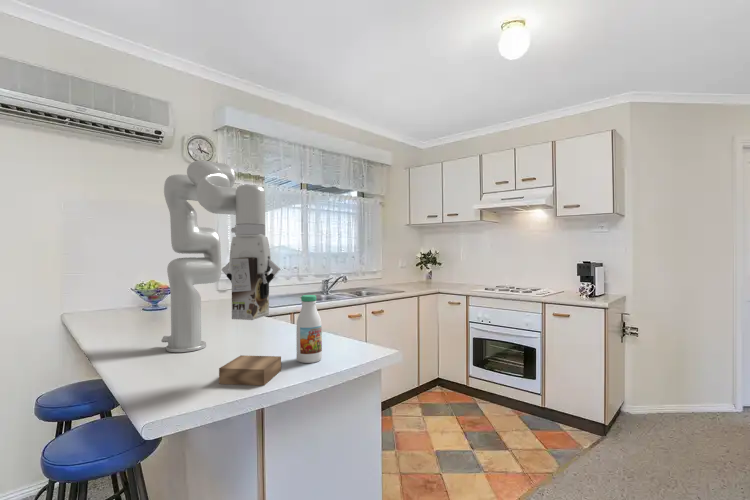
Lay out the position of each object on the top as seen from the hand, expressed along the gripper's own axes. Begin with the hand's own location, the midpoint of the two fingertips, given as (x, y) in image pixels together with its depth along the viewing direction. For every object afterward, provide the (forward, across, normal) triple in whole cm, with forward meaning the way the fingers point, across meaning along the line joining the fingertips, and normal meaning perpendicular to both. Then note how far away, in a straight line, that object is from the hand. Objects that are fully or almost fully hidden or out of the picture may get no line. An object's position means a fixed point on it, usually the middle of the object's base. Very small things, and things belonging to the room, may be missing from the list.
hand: (251, 297), depth 104 cm
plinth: (+21, 0, 0) cm, 21 cm away
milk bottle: (+22, +11, +17) cm, 30 cm away
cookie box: (+5, 0, 0) cm, 5 cm away
